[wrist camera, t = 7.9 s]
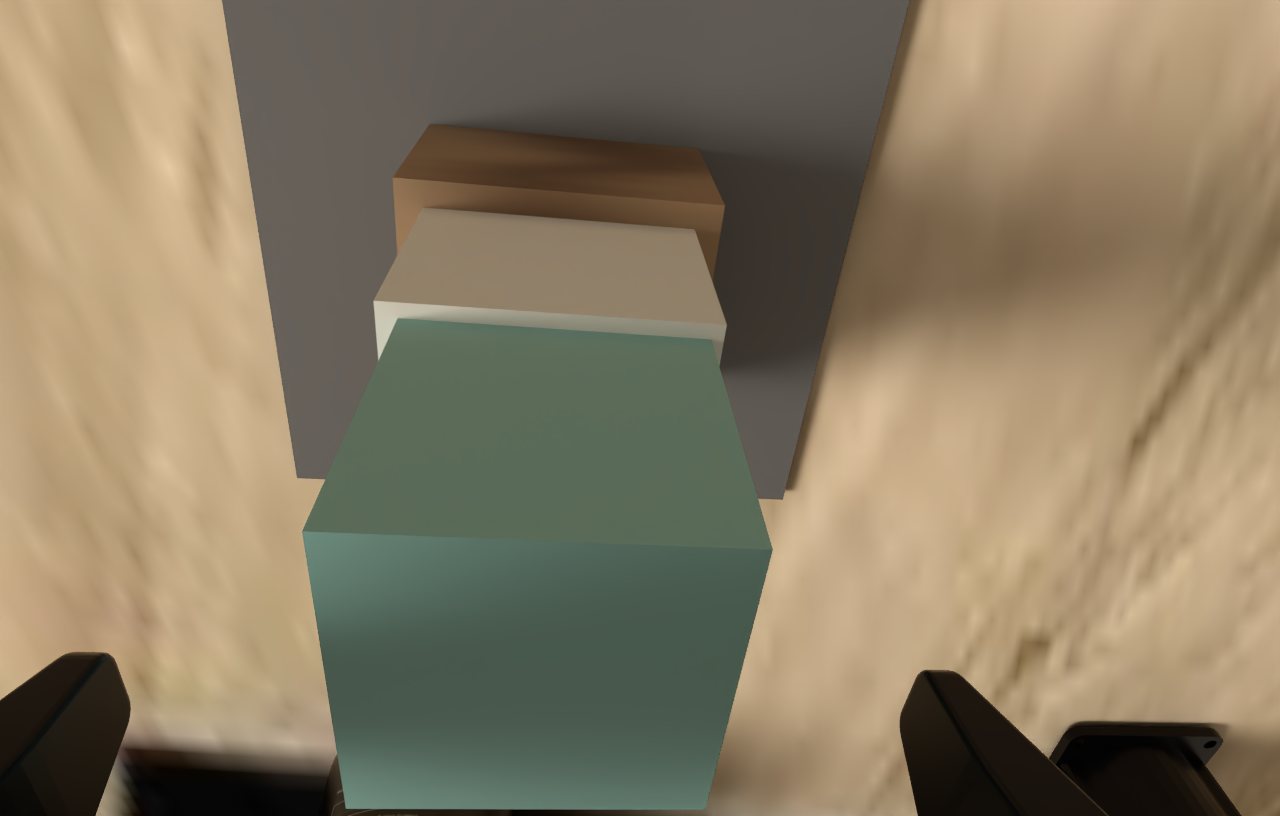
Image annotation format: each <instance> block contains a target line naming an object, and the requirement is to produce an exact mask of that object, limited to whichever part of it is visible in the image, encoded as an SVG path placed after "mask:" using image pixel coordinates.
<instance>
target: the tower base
mask: <svg viewBox="0 0 1280 816" xmlns="http://www.w3.org/2000/svg"><path fill="white" fill-rule="evenodd" d="M393 192H394V208H395V224H396V241H397V255H398V253H399V251H400V249H401V248H402V246H403V244H404V242H405V240H406V238H407V236H408V234H409V232H410V230H411V228H412V227H413V225H414V223H415V221H416V219H417V217H418V215H419V213H420V211H421V209H422V208H423V207H425V208H437V209H449V210H462V211H474V212H487V213H499V214H511V215H524V216H536V217H549V218H561V219H574V220H586V221H598V222H611V223H623V224H636V225H648V226H661V227H673V228H685V229H695V232H696V235H697V238H698V241H699V244H700V247H701V250H702V253H703V256H704V259H705V262H706V265H707V267H708V270H709V273H710V276H711V279H712V282H713V275H714V269H715V263H716V257H717V251H718V245H719V239H720V233H721V227H722V221H723V214H724V208H725V204H724V202H723V200H722V198H721V196H720V194H719V191H718V189H717V187H716V185H715V183H714V181H713V179H712V176H711V174H710V172H709V170H708V168H707V166H706V163H705V161H704V159H703V157H702V155H701V153H700V151H699V149H696V148H685V147H674V146H663V145H652V144H641V143H630V142H619V141H608V140H597V139H586V138H576V137H565V136H554V135H543V134H532V133H521V132H510V131H499V130H488V129H477V128H466V127H455V126H444V125H433V124H429V126H428V127H427V128H426V130H425V131H424V133H423V134H422V136H421V137H420V139H419V140H418V141H417V143H416V144H415V146H414V147H413V149H412V150H411V152H410V153H409V155H408V156H407V157H406V159H405V160H404V162H403V163H402V165H401V166H400V168H399V169H398V170H397V172H396V173H395V175H394V176H393Z"/></svg>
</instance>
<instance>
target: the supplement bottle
mask: <svg viewBox="0 0 1280 816" xmlns="http://www.w3.org/2000/svg"><path fill="white" fill-rule="evenodd" d="M317 816H513V809H346V806H345V799H344V793H343V787H342V780H341V774H340V768H339V761H338V755H336V757H335V759H334V761H333V764H332V766H331V769H330V773H329V776H328V779H327V783H326V786H325V790H324V793H323V796H322V800H321V804H320V807H319V811H318V814H317Z"/></svg>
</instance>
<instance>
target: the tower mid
mask: <svg viewBox="0 0 1280 816" xmlns="http://www.w3.org/2000/svg"><path fill="white" fill-rule="evenodd" d="M374 313H375V326H376V338H377V350H378V361H379V358H380V356H381V354H382V352H383V349H384V347H385V345H386V343H387V340H388V338H389V336H390V334H391V332H392V329H393V327H394V325H395V323H396V320H397V318H401V319H416V320H431V321H446V322H460V323H475V324H490V325H505V326H520V327H535V328H549V329H564V330H579V331H594V332H609V333H624V334H638V335H653V336H668V337H683V338H698V339H711V340H712V343H713V347H714V350H715V353H716V357H717V360H718V364H719V366H720V360H721V355H722V349H723V343H724V338H725V332H726V327H727V324H726V321H725V318H724V315H723V312H722V309H721V306H720V303H719V300H718V297H717V294H716V291H715V288H714V285H713V282H712V279H711V276H710V273H709V270H708V267H707V265H706V262H705V259H704V256H703V253H702V250H701V247H700V244H699V241H698V238H697V235H696V232H695V229H685V228H673V227H661V226H648V225H636V224H623V223H611V222H598V221H586V220H574V219H561V218H549V217H536V216H524V215H511V214H499V213H487V212H474V211H462V210H449V209H437V208H425V207H423V208H422V209H421V211H420V213H419V215H418V217H417V219H416V221H415V223H414V225H413V227H412V228H411V230H410V232H409V234H408V236H407V238H406V240H405V242H404V244H403V246H402V248H401V249H400V251H399V253H398V255H397V257H396V259H395V261H394V263H393V265H392V267H391V268H390V270H389V272H388V274H387V276H386V278H385V280H384V282H383V284H382V286H381V287H380V289H379V291H378V293H377V295H376V297H375V299H374Z"/></svg>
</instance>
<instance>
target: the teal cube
mask: <svg viewBox="0 0 1280 816" xmlns="http://www.w3.org/2000/svg"><path fill="white" fill-rule="evenodd" d="M302 533H303V539H304V546H305V552H306V558H307V565H308V571H309V577H310V584H311V590H312V596H313V603H314V609H315V615H316V622H317V628H318V634H319V641H320V647H321V654H322V660H323V666H324V673H325V679H326V685H327V692H328V698H329V704H330V711H331V717H332V723H333V730H334V736H335V742H336V749H337V755H338V761H339V768H340V774H341V780H342V787H343V793H344V799H345V806H346V809H572V810H705V809H706V805H707V801H708V797H709V794H710V790H711V786H712V782H713V778H714V774H715V770H716V767H717V763H718V759H719V755H720V751H721V747H722V743H723V740H724V736H725V732H726V728H727V724H728V720H729V716H730V712H731V709H732V705H733V701H734V697H735V693H736V689H737V685H738V682H739V678H740V674H741V670H742V666H743V662H744V658H745V655H746V651H747V647H748V643H749V639H750V635H751V631H752V628H753V624H754V620H755V616H756V612H757V608H758V604H759V601H760V597H761V593H762V589H763V585H764V581H765V577H766V574H767V570H768V566H769V562H770V558H771V554H772V550H773V549H772V546H771V542H770V539H769V535H768V532H767V529H766V525H765V522H764V518H763V515H762V511H761V508H760V505H759V501H758V498H757V494H756V491H755V487H754V484H753V481H752V477H751V474H750V470H749V467H748V463H747V460H746V456H745V453H744V450H743V446H742V443H741V439H740V436H739V432H738V429H737V426H736V422H735V419H734V415H733V412H732V408H731V405H730V402H729V398H728V395H727V391H726V388H725V384H724V381H723V378H722V374H721V371H720V367H719V364H718V360H717V357H716V353H715V350H714V347H713V343H712V340H711V339H698V338H683V337H668V336H653V335H638V334H624V333H609V332H594V331H579V330H564V329H549V328H535V327H520V326H505V325H490V324H475V323H460V322H446V321H431V320H416V319H401V318H397V320H396V323H395V325H394V327H393V329H392V332H391V334H390V336H389V338H388V340H387V343H386V345H385V347H384V349H383V352H382V354H381V356H380V358H379V361H378V363H377V365H376V367H375V370H374V372H373V374H372V376H371V379H370V381H369V383H368V385H367V388H366V390H365V392H364V394H363V397H362V399H361V401H360V403H359V405H358V408H357V410H356V412H355V414H354V417H353V419H352V421H351V423H350V426H349V428H348V430H347V432H346V435H345V437H344V439H343V441H342V444H341V446H340V448H339V450H338V453H337V455H336V457H335V459H334V461H333V464H332V466H331V468H330V470H329V473H328V475H327V477H326V479H325V482H324V484H323V486H322V488H321V491H320V493H319V495H318V497H317V500H316V502H315V504H314V506H313V509H312V511H311V513H310V515H309V517H308V520H307V522H306V524H305V526H304V529H303V531H302Z"/></svg>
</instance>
